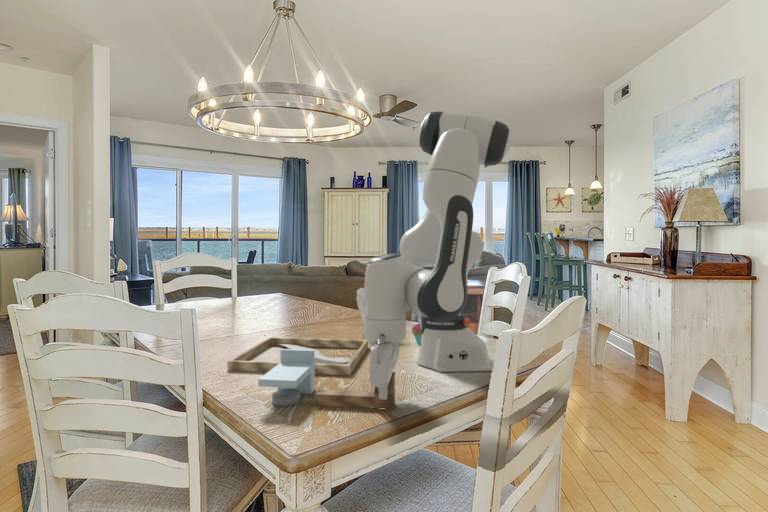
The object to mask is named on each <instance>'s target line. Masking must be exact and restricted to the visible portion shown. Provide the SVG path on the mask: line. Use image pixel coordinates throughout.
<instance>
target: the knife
mask: <svg viewBox="0 0 768 512" xmlns="http://www.w3.org/2000/svg"><path fill="white" fill-rule="evenodd" d="M278 345H282V346H281V347H285V348H286V349H301V350H314V363H316V364H343V365H347V364H348V362H349V361H350V360H351V358H346V357H343V356H341V357H329V356H325V355H323V353H322V352H321V351H319V350H318V349H315V348H312V347H310V348H309V347H304V346H296V345H291V344H278Z"/></svg>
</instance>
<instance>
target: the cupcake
mask: <svg viewBox="0 0 768 512" xmlns="http://www.w3.org/2000/svg"><path fill="white" fill-rule="evenodd" d="M419 320H420V321H419V322H418V323H416V324H414V325H413V326H412V327H411V333H412V334H413V336H414V338H415V342H416V344H418V345H420V344H421V337H422V333H421V314H420V313H419Z"/></svg>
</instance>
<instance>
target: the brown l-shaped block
mask: <svg viewBox="0 0 768 512" xmlns="http://www.w3.org/2000/svg"><path fill="white" fill-rule="evenodd" d="M373 389H374V391H360V390H339V389H318V390H317V391H316V393H314V406H316V407H319V406H320V407H337V408H355V407H374V408H386V409H393V408H395V405H396V372H395V371H393V373H392V376H391V379H390V382H389V384H388V397H387V399H386V400H384V399H379V390H378V387H373ZM374 408H373V409H374ZM386 409H385V410H386ZM393 410H394V409H393Z"/></svg>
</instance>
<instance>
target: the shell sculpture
mask: <svg viewBox="0 0 768 512" xmlns="http://www.w3.org/2000/svg"><path fill="white" fill-rule="evenodd" d="M356 294H357V295H356V302H357V303H356V305H357V309H358V311H359V314H360V317H361V320H362V322H363V324H364V315H365V311H366V301H365V297H364V287H360V288H359V289H358V288H357V290H356ZM361 334H362V336H363V337H364V330H363V331H362V333H361Z"/></svg>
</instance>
